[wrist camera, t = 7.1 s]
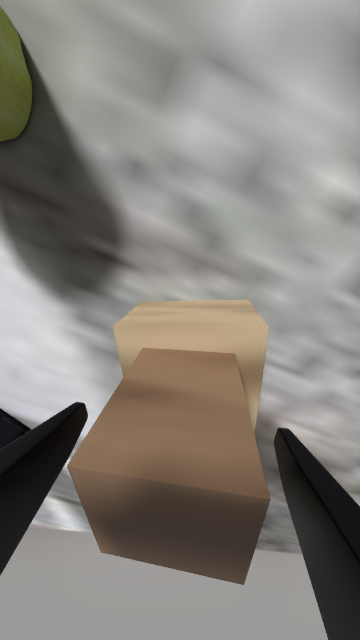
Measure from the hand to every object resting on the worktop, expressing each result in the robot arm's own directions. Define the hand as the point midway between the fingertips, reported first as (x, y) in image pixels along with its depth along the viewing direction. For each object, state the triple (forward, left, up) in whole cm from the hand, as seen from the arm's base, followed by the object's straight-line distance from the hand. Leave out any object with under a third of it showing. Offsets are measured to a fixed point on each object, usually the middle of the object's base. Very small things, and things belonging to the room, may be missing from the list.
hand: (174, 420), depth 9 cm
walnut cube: (0, 0, -2) cm, 3 cm away
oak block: (0, -1, -8) cm, 8 cm away
